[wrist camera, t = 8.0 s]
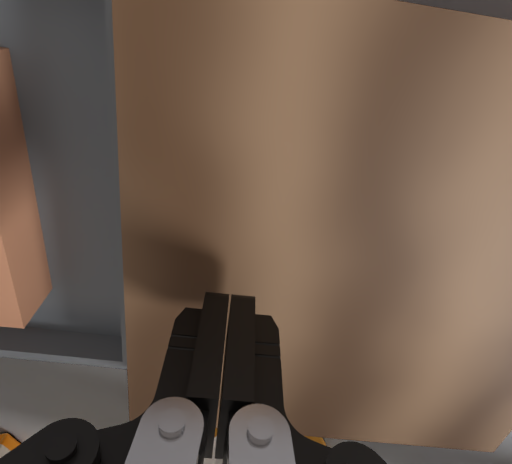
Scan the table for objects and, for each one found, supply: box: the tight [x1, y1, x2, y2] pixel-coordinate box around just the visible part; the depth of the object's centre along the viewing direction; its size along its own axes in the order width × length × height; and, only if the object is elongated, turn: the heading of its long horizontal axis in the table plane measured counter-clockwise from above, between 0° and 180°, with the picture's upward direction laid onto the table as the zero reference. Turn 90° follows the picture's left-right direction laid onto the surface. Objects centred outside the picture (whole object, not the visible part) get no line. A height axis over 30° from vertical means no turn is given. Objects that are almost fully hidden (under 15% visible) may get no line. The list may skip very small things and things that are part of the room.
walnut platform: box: [112, 0, 512, 452], centre depth 14 cm, size 16×16×4 cm
